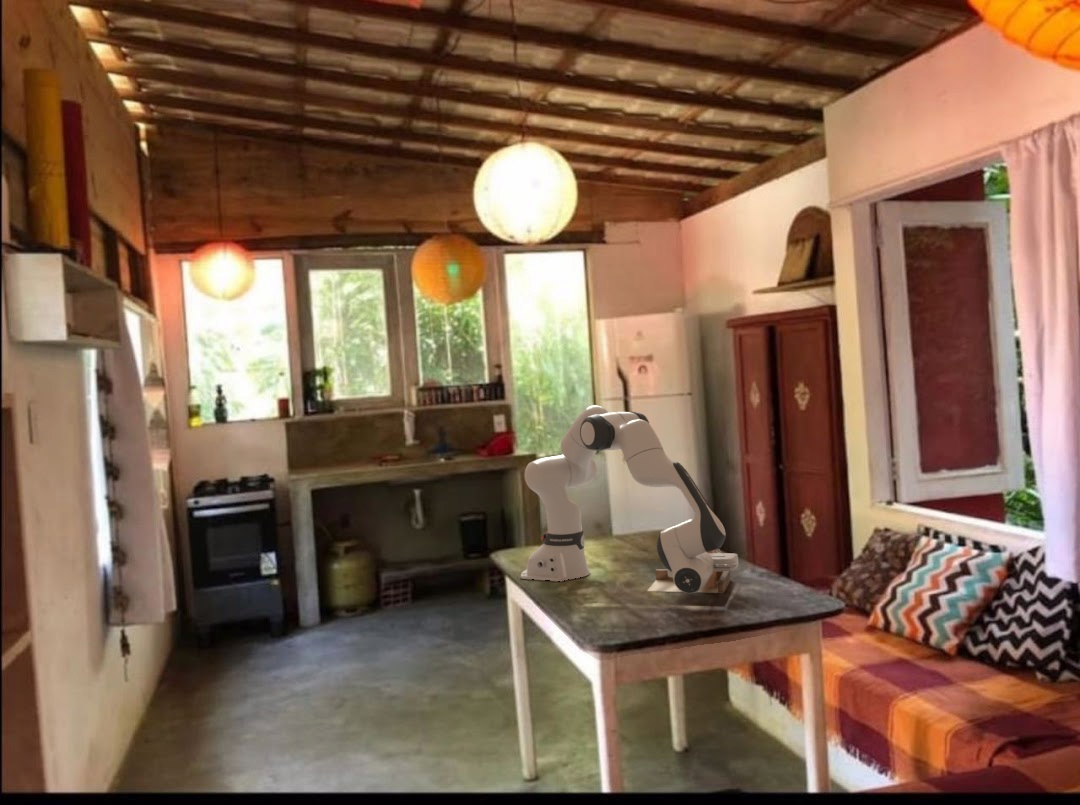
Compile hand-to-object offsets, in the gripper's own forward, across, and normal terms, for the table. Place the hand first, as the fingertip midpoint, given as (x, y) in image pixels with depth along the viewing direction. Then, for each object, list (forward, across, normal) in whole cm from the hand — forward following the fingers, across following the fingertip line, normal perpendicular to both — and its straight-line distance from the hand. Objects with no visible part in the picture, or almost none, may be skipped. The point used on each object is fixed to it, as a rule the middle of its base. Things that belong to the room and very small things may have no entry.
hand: (705, 555), depth 248 cm
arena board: (-2, +5, +10) cm, 11 cm away
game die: (+22, +2, +10) cm, 24 cm away
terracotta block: (-1, 0, +8) cm, 9 cm away
